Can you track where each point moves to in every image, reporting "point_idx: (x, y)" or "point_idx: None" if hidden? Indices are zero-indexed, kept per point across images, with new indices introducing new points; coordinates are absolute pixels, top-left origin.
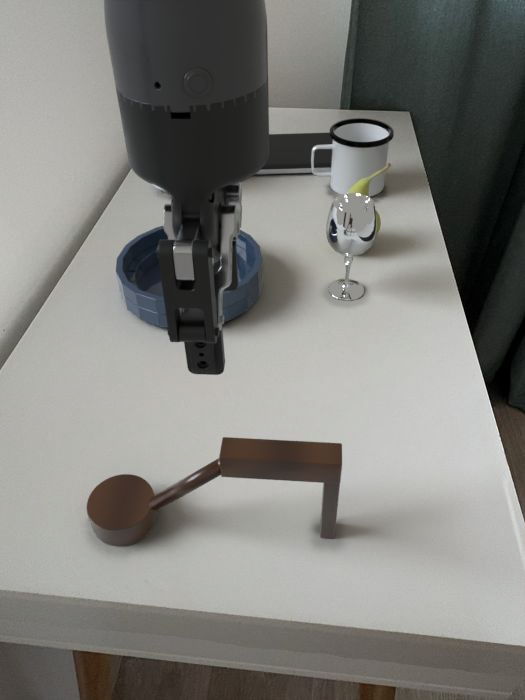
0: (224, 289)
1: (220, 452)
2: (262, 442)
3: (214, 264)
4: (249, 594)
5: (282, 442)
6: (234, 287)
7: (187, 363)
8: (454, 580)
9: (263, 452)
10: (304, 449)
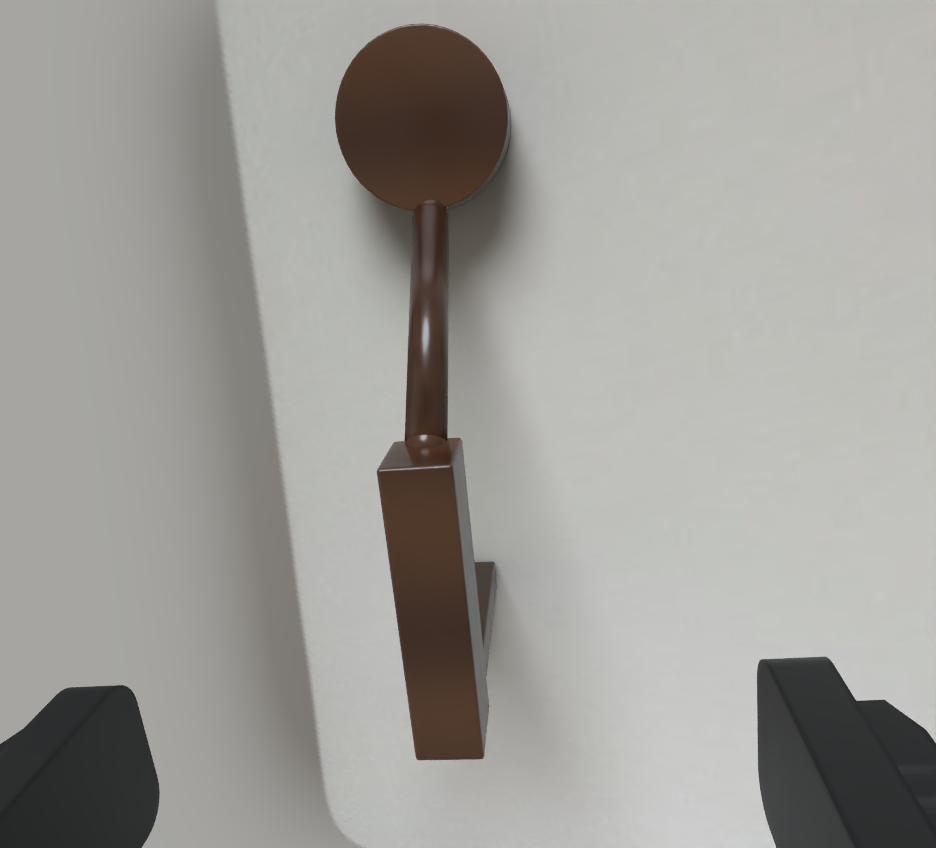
0: (761, 737)
1: (393, 470)
2: (449, 575)
3: (820, 843)
4: (311, 446)
5: (459, 624)
6: (764, 799)
7: (35, 717)
8: (414, 775)
9: (415, 581)
10: (446, 677)
